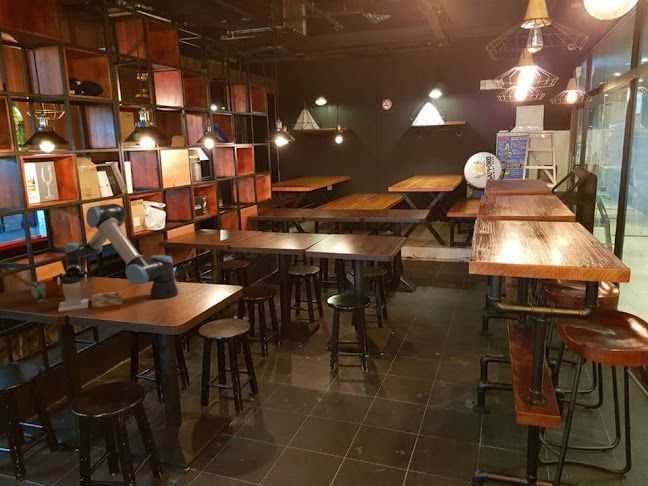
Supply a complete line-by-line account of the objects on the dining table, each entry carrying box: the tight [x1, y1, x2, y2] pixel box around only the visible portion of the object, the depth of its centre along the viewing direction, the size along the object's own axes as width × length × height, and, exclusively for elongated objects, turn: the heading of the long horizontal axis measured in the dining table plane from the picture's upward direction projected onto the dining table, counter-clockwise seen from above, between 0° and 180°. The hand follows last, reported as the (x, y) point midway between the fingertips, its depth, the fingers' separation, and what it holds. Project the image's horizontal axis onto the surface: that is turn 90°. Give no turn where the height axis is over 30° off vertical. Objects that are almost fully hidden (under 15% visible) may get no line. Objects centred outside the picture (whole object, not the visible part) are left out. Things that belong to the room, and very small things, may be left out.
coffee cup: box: [61, 276, 82, 306], centre depth 265 cm, size 9×9×15 cm
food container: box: [29, 281, 47, 304], centre depth 276 cm, size 12×6×10 cm, turn 47°
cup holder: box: [91, 291, 124, 309], centre depth 273 cm, size 15×15×3 cm
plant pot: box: [59, 255, 87, 282], centre depth 316 cm, size 15×15×16 cm
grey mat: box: [57, 298, 89, 312], centre depth 267 cm, size 14×14×1 cm
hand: (72, 281), depth 273 cm, fingers open, 13 cm apart
